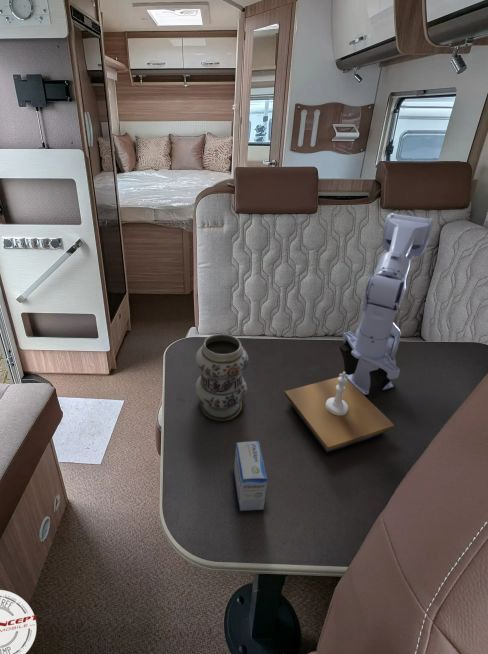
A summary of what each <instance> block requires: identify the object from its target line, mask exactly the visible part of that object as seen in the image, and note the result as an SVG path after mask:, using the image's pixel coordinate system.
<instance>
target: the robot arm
mask: <svg viewBox="0 0 488 654" xmlns="http://www.w3.org/2000/svg"><path fill="white" fill-rule="evenodd" d="M434 223H435V220H434V219H433V218H432V217H430V218H428V217H427V218H426V217H421V216H419V217H418V216H412V215H406V214H398V213H393V212H390V213H389V214H388V215H387V216H386V219H385V221H384V226H383V229H382V230H383V231H382V239H381V240H382V241H381V244H382V249H383V250H385V251H386V252H385V253H383V254H382V255H381V256H380V258H379V261H378V264H377V266H376V268H375V271H374V273H373V276H369V278H368V279H367V282H366V285H365V289H364V292H363V304H362V314H361V315H362V316H361V320H360V322H359V324H358V327H357V329H356V330H355V333H354V332H352V331H351V330H350V331H345V332H343V333H342V338H341V340H342V342H344V344H340V345H339V349H338V350H339V351H340V353H341V356H342V360H343V366H344V372H345V374H347V375H348V377H345V378H346V379H347V380H348V381H350V382H351V383H352V384H353V385H354V386H355V387H356V388H357V389H358V390H359V391H360V392H361V393H362V394H363V395H364V396H367V395H368V397H369V398H370V399H375V398H377V397H379V396H380V394H381V393H382V391H385V390H389V389H391V388H394V384H393V383H392V381H393V380H394V379H395V380H396V379H398V378H399V376H400V372H401V369H400V368H399V367H398V366H397V360H396V355H397V351H398V348H399V344H400V341H401V336H402V332H401V329H400V327H398V326H397V325H396V323H395V322H394V321H395V318H396V314H397V311H398V310H399V308H400V307H401V305H402V302H403V298H404V295H405V291H406V288H407V287H406V286H407V285H406V284H407V276H408V273H409V270H410V267H411V262H412V261H413V258H415V257H420V256H423V255H424V252H425V251H426V249H427V245H428V244H429V240H430V237H431V233H432V230H433V228H434Z"/></svg>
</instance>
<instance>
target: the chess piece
mask: <svg viewBox="0 0 488 654" xmlns="http://www.w3.org/2000/svg"><path fill="white" fill-rule="evenodd" d="M337 377H338V384H339V385H337V386H336V389H337V390H338V391H337V394H336V397H333V398H329V399H328V400H327V401H326V404H325V406H326V408H327V410H328V411H329V412H331V413H332V414H335V415H345V414H346V413H347V412H348V405H347V403H346V402H345V401H344V400H342V392H344V391H346V388H345V384H346V383H347V380H348V379H347V378H346V377H348V375H347V374H345V371H342V373H339V374H338V376H337Z"/></svg>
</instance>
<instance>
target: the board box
mask: <svg viewBox="0 0 488 654" xmlns="http://www.w3.org/2000/svg"><path fill="white" fill-rule="evenodd" d="M338 377H339V376H337V377H334V378H329V379H326V380H322V381H318V382H315V383H311V384H307V385H303V386H299V387H295V388H292V389H288V390H284V394H283V395H284V396H285V398H287V400H288V401H289V403H290V404H291V408H292V409H293V410H294V411H295V413H296V415H298V417H299V419H300V420H301V421H302V422H303V423H304V425H305V426H306V427H307V429H308V430H309V432H310V433H311V434H312V435H313V437H314V438H315V440H316V441H317V442H318V443H319V444H320V446H321V447H322V448H323V450H324V452H325V453H327V454H328V453H331V452H334V451H337V450H340V449H343V448H345V447H348V446H352V445H354V444H358V443H360V442H364V441H367V440H370V439H372V438H375V437H378V436H380V435H381V433H384V432H388V431H390V430H393V429H395V427H396V425H395V424H394V423H393V422H392V421H391V420H390V419H389V418H388V417H387V416H386V415H385V414H384V413H382V411H381V410H379V408H377V406H375V404H374V403H373V402H371V401H370V400H369V399H368V398H367V397H366V395H363V394H362V393H361V392H360V391H359V390H358V389H357V388H356V387H355V386H354V385H353V384H352V383H351V382H350V381H349V380H348V379H347V383H346V384H345V388H346V391H344V392H342V400H344V401H345V402H346V403H347V405H348V412H347V413H346V414H345V415H335V414H332V413H331V412H329V411H328V410H327V408H326V406H325V404H326V401H327V400H328V399H329V398H333V397H336V394H337V391H338V390H337V389H336V386H337V385H339V384H338Z"/></svg>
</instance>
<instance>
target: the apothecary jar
mask: <svg viewBox="0 0 488 654" xmlns="http://www.w3.org/2000/svg"><path fill="white" fill-rule="evenodd" d="M195 362H196V365H197V367H198V369H199V370H200V375H199V377H198V378H197V380H196V383H195V393H196V395H197V397H198V399H199V400H200V409H201V411H202V413H203V414H204V416H206V417H207V418H209V419H211V420H214V421H218V422H219V421H220V422H223V421H229V420H232V419H235V417H237V416H238V415H239V414H240V412H241V410H242V409H243V408H242V406H243V404H242V401H243V400H244V399H245V398H246V395H247V393H248V384H247V381H246V380H245V378H244V377H243V372H244V371H245V370H246V368H247V367H248V364H249V355H248V352H247V350H246V349H245V348H244V347H243V346H242V341H241V340H240V339H239V338H237V337H236V336H234V335H232V334H227V333H217V334H211V335H210V336H207V337H206V338H205V339H204V341H203V344H202V345H201V346H200V347H199V348H198V350H197V352H196V355H195Z"/></svg>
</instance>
